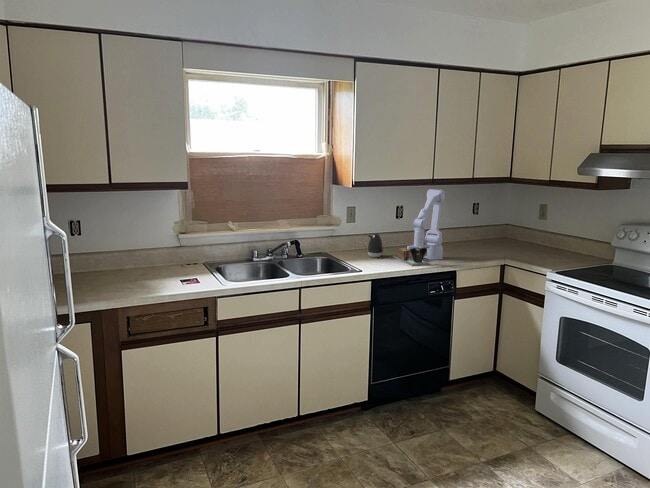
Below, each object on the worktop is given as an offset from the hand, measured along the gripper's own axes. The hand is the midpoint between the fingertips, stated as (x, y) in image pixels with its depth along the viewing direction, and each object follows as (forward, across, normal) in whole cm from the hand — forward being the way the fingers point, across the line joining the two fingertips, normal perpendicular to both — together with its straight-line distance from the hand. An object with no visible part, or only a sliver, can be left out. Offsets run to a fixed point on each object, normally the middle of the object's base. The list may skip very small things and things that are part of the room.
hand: (417, 260), depth 299 cm
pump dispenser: (+2, -17, +25) cm, 30 cm away
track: (+2, 0, +9) cm, 9 cm away
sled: (+1, 0, +6) cm, 6 cm away
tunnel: (+2, 0, +11) cm, 11 cm away
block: (0, 0, +10) cm, 10 cm away
